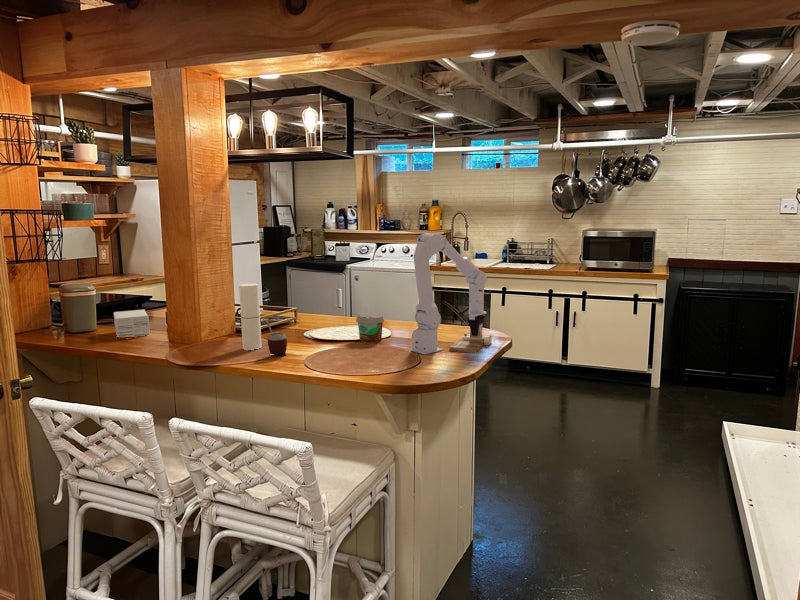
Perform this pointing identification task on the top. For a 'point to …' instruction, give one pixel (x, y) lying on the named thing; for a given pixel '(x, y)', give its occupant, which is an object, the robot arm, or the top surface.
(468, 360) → the top surface
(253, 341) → the cylindrical container
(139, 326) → the supplement box
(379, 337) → the food container
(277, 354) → the mate gourd
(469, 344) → the walnut board
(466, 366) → the top surface
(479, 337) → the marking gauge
